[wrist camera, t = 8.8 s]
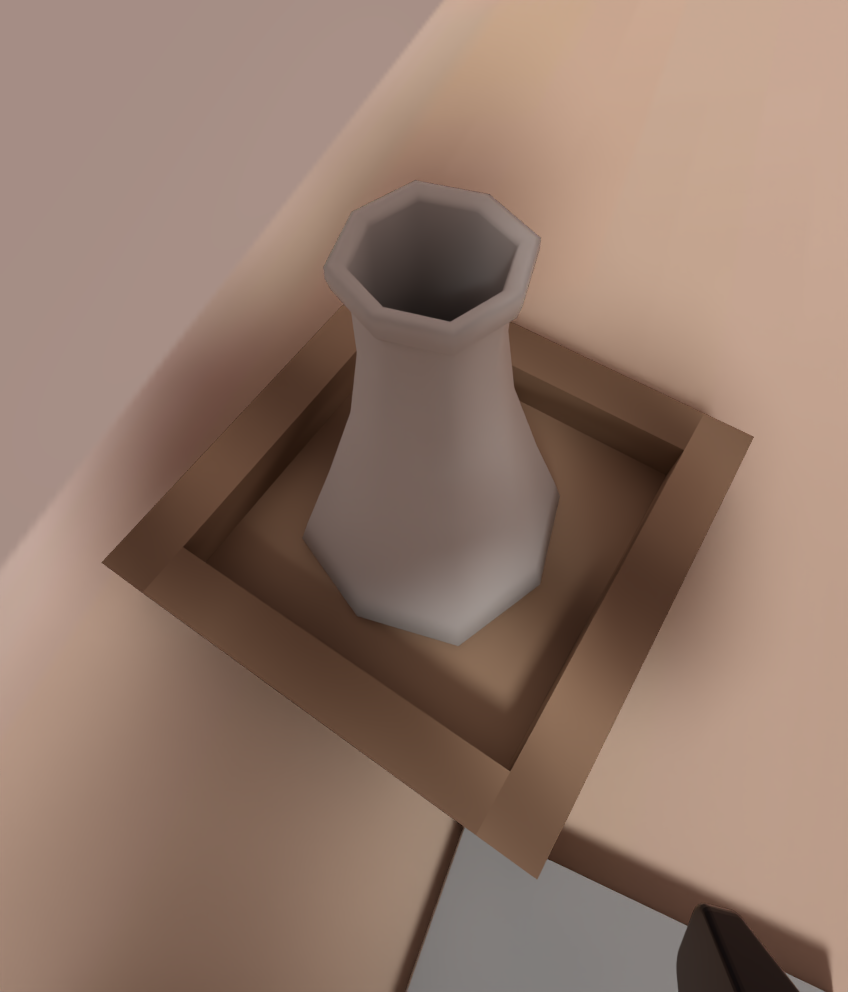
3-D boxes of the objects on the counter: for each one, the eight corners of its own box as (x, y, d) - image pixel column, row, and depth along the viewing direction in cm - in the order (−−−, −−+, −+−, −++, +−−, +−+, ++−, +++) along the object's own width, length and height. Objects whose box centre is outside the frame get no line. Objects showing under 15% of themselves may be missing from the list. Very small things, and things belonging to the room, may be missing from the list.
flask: (467, 697, 16) (511, 560, 7) (260, 549, 18) (91, 296, 9) (599, 493, 19) (752, 207, 10) (405, 383, 21) (385, 59, 12)
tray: (521, 868, 15) (537, 879, 13) (141, 592, 18) (101, 562, 16) (717, 478, 20) (753, 436, 18) (388, 313, 23) (383, 261, 21)
